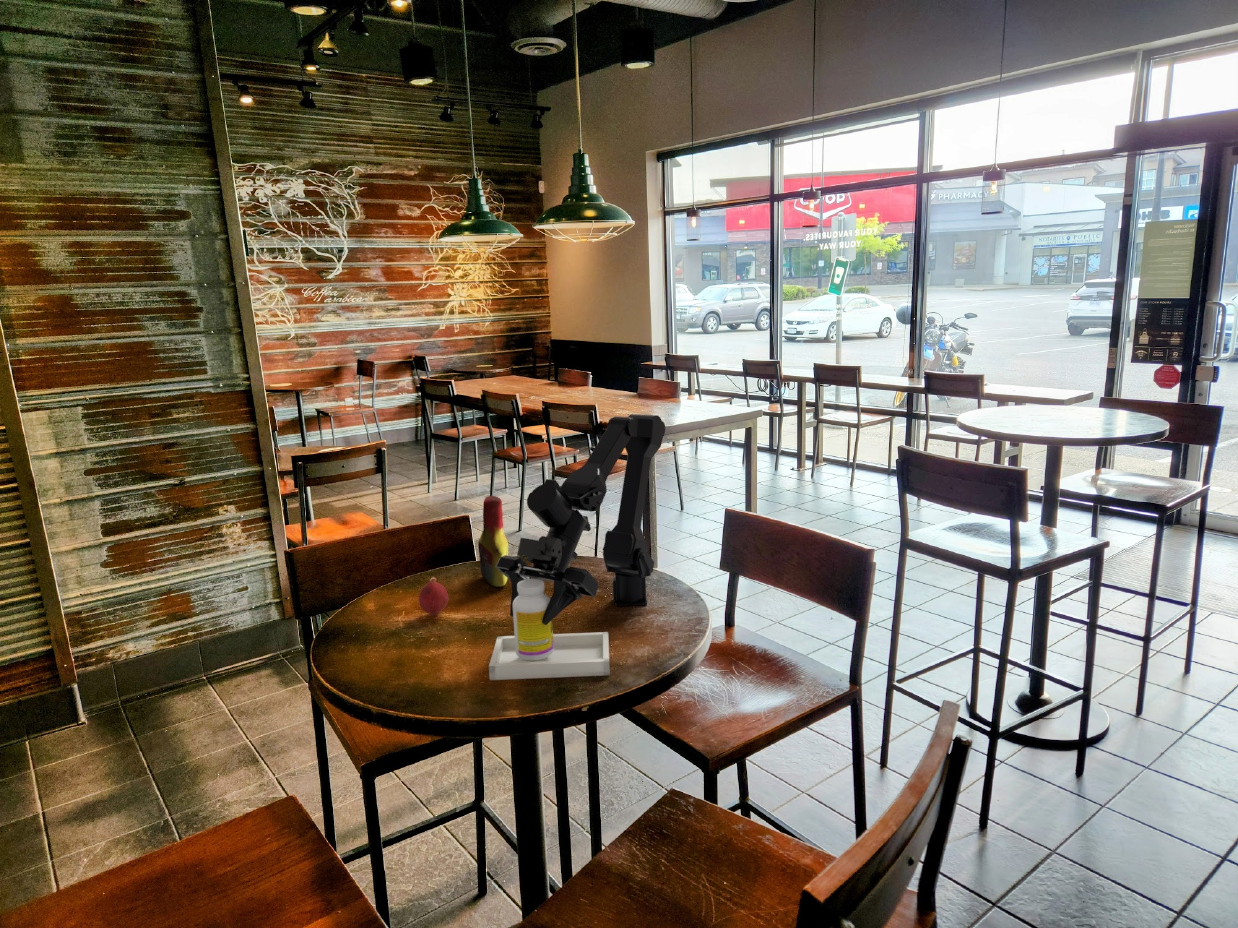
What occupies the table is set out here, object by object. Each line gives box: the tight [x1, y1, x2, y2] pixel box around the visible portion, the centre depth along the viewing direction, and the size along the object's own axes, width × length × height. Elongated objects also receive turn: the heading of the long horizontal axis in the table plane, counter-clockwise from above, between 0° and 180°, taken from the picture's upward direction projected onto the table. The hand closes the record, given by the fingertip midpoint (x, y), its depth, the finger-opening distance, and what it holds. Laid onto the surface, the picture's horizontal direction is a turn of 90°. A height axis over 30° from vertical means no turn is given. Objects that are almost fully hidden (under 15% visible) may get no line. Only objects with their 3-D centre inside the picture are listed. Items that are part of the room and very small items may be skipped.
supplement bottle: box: [512, 578, 554, 660], centre depth 135 cm, size 7×7×13 cm
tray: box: [488, 631, 611, 681], centre depth 137 cm, size 20×12×2 cm, turn 92°
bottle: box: [477, 495, 509, 588], centre depth 176 cm, size 12×6×20 cm, turn 17°
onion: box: [418, 577, 449, 617], centre depth 158 cm, size 6×6×8 cm
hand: (527, 620), depth 134 cm, fingers closed on supplement bottle, 6 cm apart
